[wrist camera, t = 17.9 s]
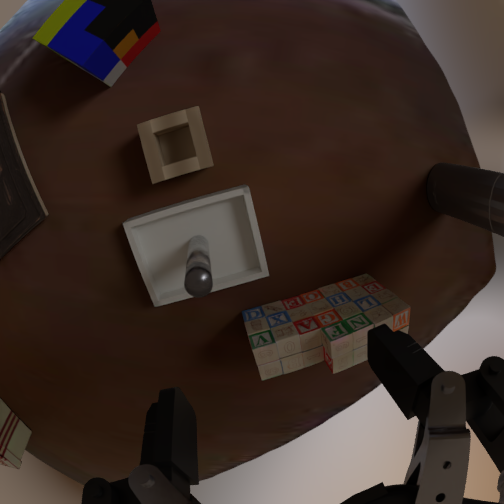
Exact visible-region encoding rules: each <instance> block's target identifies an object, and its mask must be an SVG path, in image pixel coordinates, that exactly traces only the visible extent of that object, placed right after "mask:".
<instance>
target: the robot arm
mask: <svg viewBox="0 0 504 504" xmlns="http://www.w3.org/2000/svg"><path fill="white" fill-rule="evenodd" d="M427 196H428V200H429V203H430V205H431V206H432V208H433V209H434V210H435V211H437V212H440V213H443V214H446V215H449V216H451V217H454V218H457V219H459V220H462V221H465V222H468V223H470V224H473V225H476V226H478V227H481V228H483V229H486V230H488V231H491V232H493V233H496V234H498V235H501V236H503V237H504V173H500V172H495V171H490V170H485V169H480V168H474V167H468V166H462V165H456V164H450V163H438V164H436V165H435V166H434V167H433V169H432V170H431V172H430V174H429V177H428V182H427ZM367 358H368V362H369V365H370V367H371V368H372V370H373V371H374V373H375V374H376V375H377V377H378V378H379V380H380V381H381V382H382V384H383V385H384V387H385V388H386V390H387V391H388V392H389V394H390V395H391V397H392V398H393V399H394V401H395V402H396V404H397V405H398V407H399V408H400V410H401V411H402V412H403V414H404V415H405V417H406V418H407V420H409V419H410V418H412V417H414V416H417V418H418V419H419V422H418V427H417V434H416V439H415V444H414V449H413V454H412V459H411V463H410V465H409V468H408V471H407V474H406V477H405V481H404V484H400V485H390V486H384V484H383V482H382V483H380V484H378V485H375V486H373V487H371V488H369V489H367V490H365V491H362V492H360V493H357V494H355V495H353V496H351V497H350V498H348V499H347V500H345V501H344V502H342V503H340V504H504V360H503V359H502V358H500V357H497V356H492V357H488V358H486V359H485V360H484V361H483V362H482V364H481V366H480V369H479V370H475V371H473V372H469V373H467V374H463V375H460V374H458V373H456V372H453V371H444V370H443V369H442V368H441V367H440V366H439V365H438V364H437V363H436V362H435V361H434V360H433V359H432V358H431V357H430V356H429V355H428V353H426V351H425V350H424V349H422V347H421V346H420V345H419V344H418V343H416V341H415V340H414V339H413V338H412V337H411V336H410V335H409V334H407V333H404V332H402V331H400V330H397V331H395V332H393V331H392V330H391V329H390V328H389V327H388V326H387V325H386V324H382V325H379V326H377V327H375V328H372V329H370V330H368V333H367ZM466 421H467V423H468V424H469V426H470V427H471V429H472V430H473V431H474V433H475V434H476V436H477V437H478V439H479V440H480V442H481V443H482V445H483V446H484V448H485V449H486V451H487V452H488V454H489V455H490V457H491V459H492V460H493V462H494V463H495V465H496V467H497V468H498V470H499V471H500V473H501V474H500V476H499V480H498V486H497V489H498V491H499V492H500V499H499V502H498V503H495V502H488V501H481V500H474V499H468V498H463V496H464V490H465V484H466V478H467V470H468V462H469V452H470V451H469V450H470V430H469V429H466V423H465V422H466ZM145 424H146V425H145V429H144V432H145V433H144V436H143V444H142V452H141V461H140V465H139V466H138V467H136V468H135V469H133V470H132V472H131V473H130V475H129V477H128V478H125V479H122V480H118V481H115V482H111V483H109V482H108V481H106V480H105V479H103V478H93V479H90V480H89V481H88V482H87V483H86V484H85V486H84V489H83V495H82V504H201V503H200V502H199V501H198V500H197V499H196V498H195V497H194V496H193V495H192V494H190V485H198V484H199V479H198V458H197V425H196V416H195V412H194V410H193V408H192V406H191V405H190V403H189V402H188V400H187V399H186V397H185V396H184V394H183V392H182V391H181V389H180V388H179V387H174V388H169V389H163V390H160V393H159V400H158V403H152V405H151V407H150V408H149V410H148V412H147V415H146V422H145Z"/></svg>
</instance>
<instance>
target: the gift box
mask: <svg viewBox="0 0 504 504" xmlns="http://www.w3.org/2000/svg"><path fill="white" fill-rule="evenodd" d="M31 433H32V431H31V430H30V429H29V428H28V427H27V426H26V425H25V424H24V423H23V422H22V421H21V420H20V419H19V418H18V417H17V416H16V415H15V414H14V413H13V412H12V411H11V410H10V409H9V407H8V406H7V405H6V404H5V403H4V402H3V401H2V399H1V398H0V464H1V465H5V466H9V467H12V468H16V469H19V468H20V466H21V463H22V461H21V458H22V455H23V453H24V450H25V448H26V445H27V443H28V440H29V438H30V435H31Z"/></svg>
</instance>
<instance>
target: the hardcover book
mask: <svg viewBox="0 0 504 504" xmlns="http://www.w3.org/2000/svg"><path fill="white" fill-rule="evenodd" d="M47 215H49V214H48V212H47V210H46V208H45V206H44V204H43V201H42V199H41V197H40V195H39V193H38V191H37V188H36V186H35V184H34V182H33V179H32V177H31V175H30V172H29V170H28V167H27V165H26V162H25V160H24V157H23V154H22V152H21V149H20V146H19V143H18V140H17V137H16V134H15V131H14V128H13V125H12V122H11V118H10V115H9V111H8V108H7V104H6V100H5V96H4V94H1V91H0V259H1V258H2V257H3V256H4V255H5V254H6V253H7V252H8V251H9V250H10V249H11V248H12V247H13V246H14V245H15V244H16V243H17V242H18V241H20V240H21V239H22V238H23V237H24V236H25V235H26V234H27V233H28V232H30V231H31V230H32V229H33V228H34V227H35V226H36V225H38V224H39V223H40V222H41V221H42V220H44V219H45V218H46V217H47Z"/></svg>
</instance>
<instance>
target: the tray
mask: <svg viewBox="0 0 504 504" xmlns="http://www.w3.org/2000/svg"><path fill="white" fill-rule="evenodd" d="M123 226H124V229H125V232H126V235H127V238H128V241H129V243H130V246H131V249H132V252H133V254H134V257H135V260H136V262H137V265H138V267H139V270H140V272H141V275H142V278H143V280H144V282H145V285H146V287H147V290H148V292H149V294H150V297H151V299H152V301H153V304H154V306H155V307H157V306H161V305H165V304H169V303H173V302H176V301H180V300H184V299H188V298H191V297H193V296H191V295H190V294H188V293H187V291H186V290H185V287H184V281H185V272H186V263H187V255H188V246H189V241H190V239H191V238H192V237H194V236H197V235H201V236H204V237H205V238H206V239H207V240H208V243H209V253H210V263H211V272H212V281H213V287H212V290H211V292H214V291H217V290H221V289H224V288H228V287H232V286H235V285H239V284H242V283H246V282H249V281H253V280H256V279H260V278H263V277H267V276H269V272H268V268H267V263H266V259H265V254H264V250H263V246H262V241H261V237H260V233H259V228H258V224H257V220H256V215H255V211H254V207H253V203H252V198H251V194H250V190H249V186H247V185H241V186H238V187H234V188H230V189H226V190H222V191H219V192H215V193H211V194H208V195H204V196H200V197H197V198H193V199H190V200H187V201H183V202H180V203H176V204H173V205H170V206H167V207H163V208H160V209H157V210H154V211H151V212H147V213H144V214H141V215H138V216H135V217H132V218H129V219H127V220H126V221H125V222H124V223H123Z"/></svg>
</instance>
